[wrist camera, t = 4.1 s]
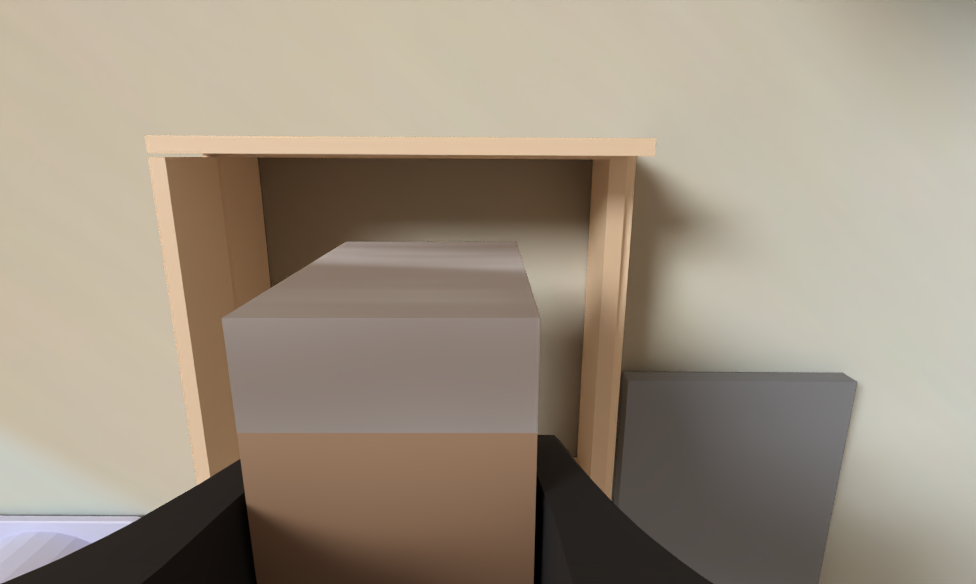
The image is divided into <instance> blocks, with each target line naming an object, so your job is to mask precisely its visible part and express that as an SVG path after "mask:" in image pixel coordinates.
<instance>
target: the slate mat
mask: <svg viewBox="0 0 976 584" xmlns="http://www.w3.org/2000/svg"><path fill="white" fill-rule="evenodd" d="M856 386H857V381H855V380H853V379H852V378H850V377H848V376H847V375H845V374H843V373H778V372H623V376H622V389H621V403H620V416H619V430H618V443H617V456H616V470H615V483H614V497H613V503H614V504H615V505H616V506H617V507H618V508H619V509H620V510H621V511H622V512H623V513H624V514H625V515H627V516H628V517H629V518H630V519H631V520H632V521H633V522H634V523H635V524H636V525H637V526H638V527H640V528H641V529H642V530H643V531H644V532H645V533H647V534H648V535H649V536H650V537H651V538H652V539H654V540H655V541H656V542H657V543H659V544H660V545H661V546H663V547H664V548H665V549H666V550H668V551H669V552H670V553H671V554H673V555H674V556H675V557H677V558H678V559H679V560H680V561H682V562H683V563H684V564H686V565H687V566H689V567H690V568H691V569H693V570H694V571H696V572H697V573H698V574H700V575H701V576H703V577H704V578H706V579H707V580H709V581H710V582H712V583H713V584H818V582H819V576H820V571H821V566H822V561H823V556H824V551H825V545H826V540H827V535H828V530H829V525H830V520H831V515H832V509H833V504H834V499H835V494H836V489H837V484H838V478H839V473H840V468H841V463H842V458H843V453H844V448H845V442H846V437H847V432H848V427H849V422H850V417H851V411H852V406H853V401H854V396H855V391H856Z"/></svg>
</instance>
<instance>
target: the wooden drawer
mask: <svg viewBox="0 0 976 584" xmlns="http://www.w3.org/2000/svg"><path fill="white" fill-rule="evenodd" d="M145 142H146V149H147V153H202V155H203V157H148V162H149V169H150V175H151V182H152V189H153V195H154V202H155V209H156V215H157V222H158V229H159V236H160V242H161V249H162V256H163V262H164V269H165V276H166V282H167V289H168V296H169V302H170V309H171V316H172V322H173V329H174V336H175V342H176V349H177V356H178V362H179V369H180V376H181V382H182V389H183V396H184V402H185V409H186V416H187V422H188V429H189V436H190V442H191V449H192V456H193V462H194V469H195V476H196V483H197V485H199V484H200V483H202V482H203V481H205V480H207V479H208V478H210V477H211V476H213V475H215V474H216V473H218V472H220V471H221V470H223V469H224V468H226V467H228V466H229V465H231V464H232V463H234V462H236V461H237V460H239V459H240V453H239V445H238V438H237V430H236V423H235V415H234V408H233V400H232V393H231V385H230V377H229V370H228V362H227V355H226V347H225V340H224V332H223V325H222V318H223V317H224V316H226V315H228V314H229V313H231V312H232V311H234V310H236V309H237V308H239V307H241V306H242V305H244V304H245V303H247V302H249V301H250V300H252V299H254V298H255V297H257V296H258V295H260V294H262V293H263V292H265V291H267V290H268V289H270V288H271V285H270V275H269V265H268V255H267V245H266V235H265V225H264V215H263V205H262V195H261V185H260V175H259V165H258V157H267V158H438V159H593V167H592V186H591V205H590V223H589V242H588V261H587V279H586V298H585V317H584V336H583V354H582V373H581V392H580V410H579V429H578V448H577V457H573V458H574V459H575V460H576V462H577V463H578V464H579V465H580V466H581V468H582V469H583V470H584V471H585V472H586V474H587V475H588V476H589V477H590V478H591V479H592V480H593V481H594V483H595V484H596V485H597V486H598V487H599V488H600V489H601V490H602V491H603V492H604V493H605V494H606V495H607V496H608V498H609V499H610V500H611V498H612V484H613V471H614V457H615V444H616V430H617V416H618V403H619V389H620V375H621V362H622V348H623V334H624V321H625V307H626V293H627V280H628V266H629V253H630V239H631V225H632V212H633V198H634V184H635V171H636V157H637V156H655V149H656V138H492V137H324V136H155V135H145Z"/></svg>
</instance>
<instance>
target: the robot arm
mask: <svg viewBox="0 0 976 584" xmlns="http://www.w3.org/2000/svg"><path fill="white" fill-rule="evenodd" d="M0 584H257V581H256V573H255V566H254V558H253V551H252V543H251V536H250V528H249V521H248V513H247V506H246V498H245V490H244V483H243V475H242V468H241V460H240V459H239V460H237V461H236V462H234V463H232V464H231V465H229V466H228V467H226V468H224V469H223V470H221V471H220V472H218V473H216V474H215V475H213V476H211V477H210V478H208V479H207V480H205V481H203V482H202V483H200V484H199V485H197V486H195V487H194V488H192V489H190V490H189V491H187V492H185V493H183V494H182V495H180V496H178V497H176V498H175V499H173V500H171V501H169V502H168V503H166V504H164V505H162V506H161V507H159V508H157V509H155V510H154V511H152V512H150V513H148V514H147V515H145V516H143V517H137V516H0ZM534 584H713V583H712V582H710V581H709V580H707V579H706V578H704V577H703V576H701V575H700V574H698V573H697V572H696V571H694V570H693V569H691V568H690V567H689V566H687V565H686V564H684V563H683V562H682V561H680V560H679V559H678V558H677V557H675V556H674V555H673V554H671V553H670V552H669V551H668V550H666V549H665V548H664V547H663V546H661V545H660V544H659V543H657V542H656V541H655V540H654V539H652V538H651V537H650V536H649V535H648V534H647V533H645V532H644V531H643V530H642V529H641V528H640V527H638V526H637V525H636V524H635V523H634V522H633V521H632V520H631V519H630V518H629V517H628V516H627V515H625V514H624V513H623V512H622V511H621V510H620V509H619V508H618V507H617V506H616V505H615V504H614V503H613V502H612V501H611V500H610V499H609V498H608V496H607V495H606V494H605V493H604V492H603V491H602V490H601V489H600V488H599V487H598V486H597V485H596V484H595V483H594V481H593V480H592V479H591V478H590V477H589V476H588V475H587V474H586V472H585V471H584V470H583V469H582V468H581V466H580V465H579V464H578V463H577V462H576V460H575V459H574V458H573V457H572V456H571V454H570V453H569V452H568V451H567V449H566V448H565V447H564V445H563V444H562V443H561V442H560V440H559V439H558V438H557V437H556V436H555V435H537V473H536V511H535V550H534Z"/></svg>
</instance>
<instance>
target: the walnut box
mask: <svg viewBox="0 0 976 584" xmlns="http://www.w3.org/2000/svg"><path fill="white" fill-rule="evenodd" d="M540 319H541V318H540V315H539V312H538V309H537V306H536V302H535V299H534V296H533V293H532V290H531V287H530V284H529V280H528V277H527V274H526V271H525V268H524V265H523V262H522V258H521V255H520V252H519V249H518V246H517V243H516V242H344V243H343V244H341V245H340V246H338V247H336V248H335V249H333V250H331V251H330V252H328V253H327V254H325V255H323V256H322V257H320V258H318V259H317V260H315V261H314V262H312V263H310V264H309V265H307V266H305V267H304V268H302V269H301V270H299V271H297V272H296V273H294V274H292V275H291V276H289V277H288V278H286V279H284V280H283V281H281V282H280V283H278V284H276V285H275V286H273V287H271V288H270V289H268V290H267V291H265V292H263V293H262V294H260V295H258V296H257V297H255V298H254V299H252V300H250V301H249V302H247V303H245V304H244V305H242V306H241V307H239V308H237V309H236V310H234V311H232V312H231V313H229V314H228V315H226V316H224V317H223V318H222V325H223V332H224V340H225V347H226V355H227V362H228V370H229V377H230V385H231V393H232V400H233V408H234V415H235V423H236V430H237V438H238V445H239V453H240V460H241V468H242V475H243V483H244V490H245V498H246V506H247V513H248V521H249V528H250V536H251V543H252V551H253V558H254V566H255V573H256V581H257V584H534V550H535V511H536V473H537V434H538V396H539V358H540Z"/></svg>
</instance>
